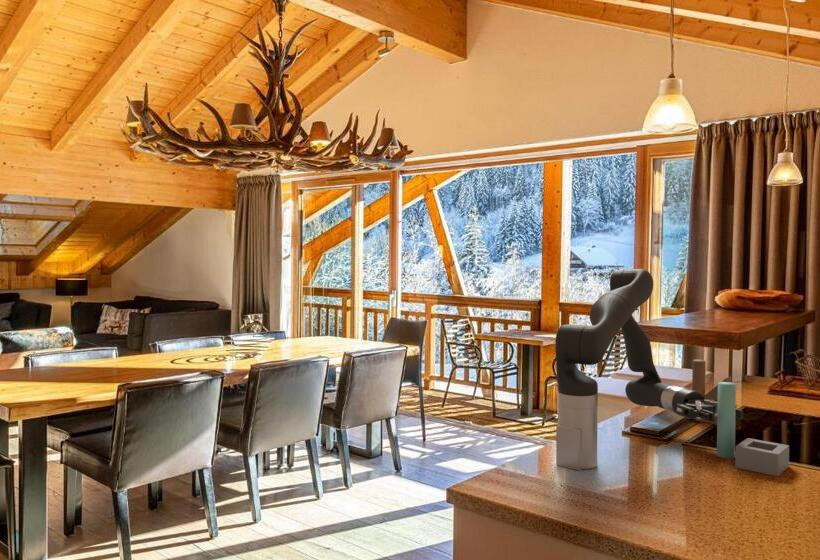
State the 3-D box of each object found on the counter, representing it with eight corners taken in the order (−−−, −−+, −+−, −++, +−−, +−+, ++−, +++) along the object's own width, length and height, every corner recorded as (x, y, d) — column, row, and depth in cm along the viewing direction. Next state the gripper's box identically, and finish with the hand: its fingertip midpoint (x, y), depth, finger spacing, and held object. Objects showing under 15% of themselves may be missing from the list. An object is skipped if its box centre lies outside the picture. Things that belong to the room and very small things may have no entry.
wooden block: (725, 426, 187) (726, 364, 186) (688, 419, 195) (689, 360, 194) (731, 424, 189) (732, 363, 189) (694, 417, 197) (695, 358, 197)
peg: (731, 459, 158) (732, 386, 157) (714, 455, 161) (715, 383, 160) (736, 455, 161) (738, 383, 160) (719, 452, 164) (721, 381, 163)
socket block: (778, 476, 146) (778, 454, 146) (735, 467, 152) (735, 446, 152) (788, 466, 153) (789, 445, 152) (747, 458, 159) (747, 438, 159)
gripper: (660, 389, 173) (704, 403, 158) (704, 386, 177) (751, 399, 162) (660, 417, 173) (703, 433, 158) (704, 413, 178) (751, 428, 162)
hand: (728, 416), depth 160 cm, fingers open, 8 cm apart
